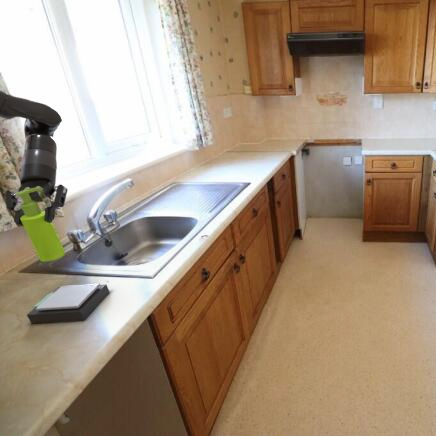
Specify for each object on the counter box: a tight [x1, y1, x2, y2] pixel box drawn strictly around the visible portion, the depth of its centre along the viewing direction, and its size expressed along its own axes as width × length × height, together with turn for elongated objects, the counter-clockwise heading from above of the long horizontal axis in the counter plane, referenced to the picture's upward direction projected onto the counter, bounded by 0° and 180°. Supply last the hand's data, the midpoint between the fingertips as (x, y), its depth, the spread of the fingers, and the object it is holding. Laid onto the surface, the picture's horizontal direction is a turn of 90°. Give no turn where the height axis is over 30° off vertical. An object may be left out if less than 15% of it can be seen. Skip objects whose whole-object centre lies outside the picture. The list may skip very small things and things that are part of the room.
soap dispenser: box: [16, 188, 66, 263], centre depth 89 cm, size 6×7×20 cm
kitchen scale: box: [26, 283, 110, 324], centre depth 91 cm, size 14×12×4 cm
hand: (34, 223), depth 87 cm, fingers closed on soap dispenser, 6 cm apart
